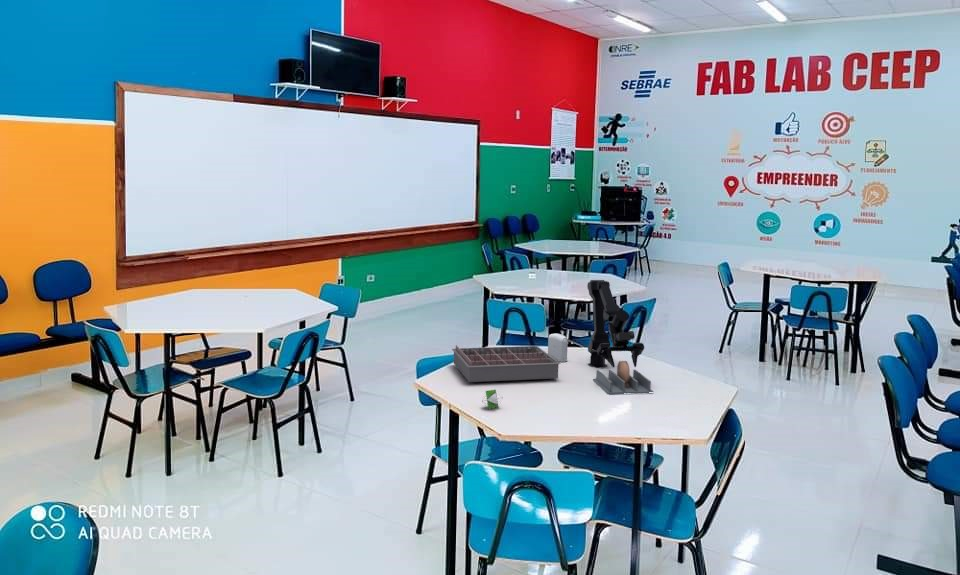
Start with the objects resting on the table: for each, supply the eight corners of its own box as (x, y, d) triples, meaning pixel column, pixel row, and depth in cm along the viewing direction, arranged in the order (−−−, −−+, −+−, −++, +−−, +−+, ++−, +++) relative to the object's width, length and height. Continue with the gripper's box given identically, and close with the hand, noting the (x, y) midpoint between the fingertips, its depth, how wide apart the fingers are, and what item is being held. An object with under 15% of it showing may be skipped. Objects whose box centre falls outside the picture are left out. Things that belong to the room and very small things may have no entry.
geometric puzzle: (476, 399, 283) (483, 386, 278) (492, 396, 286) (499, 383, 281) (484, 414, 279) (491, 401, 274) (500, 412, 282) (507, 399, 277)
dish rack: (593, 380, 320) (593, 369, 319) (636, 379, 323) (636, 368, 322) (607, 394, 300) (608, 382, 300) (653, 393, 303) (654, 381, 303)
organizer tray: (560, 381, 318) (561, 358, 316) (467, 386, 308) (467, 362, 307) (536, 362, 348) (537, 341, 347) (451, 366, 339) (451, 344, 337)
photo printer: (546, 358, 356) (547, 332, 354) (552, 357, 359) (553, 331, 357) (561, 362, 348) (562, 336, 347) (568, 361, 351) (569, 335, 349)
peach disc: (615, 382, 316) (616, 358, 314) (622, 381, 316) (623, 358, 315) (622, 388, 307) (623, 364, 305) (630, 388, 307) (631, 364, 306)
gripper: (600, 324, 310) (607, 357, 301) (644, 323, 313) (652, 356, 304) (594, 338, 319) (600, 371, 310) (636, 338, 322) (644, 370, 313)
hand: (624, 366), depth 309 cm, fingers open, 9 cm apart
